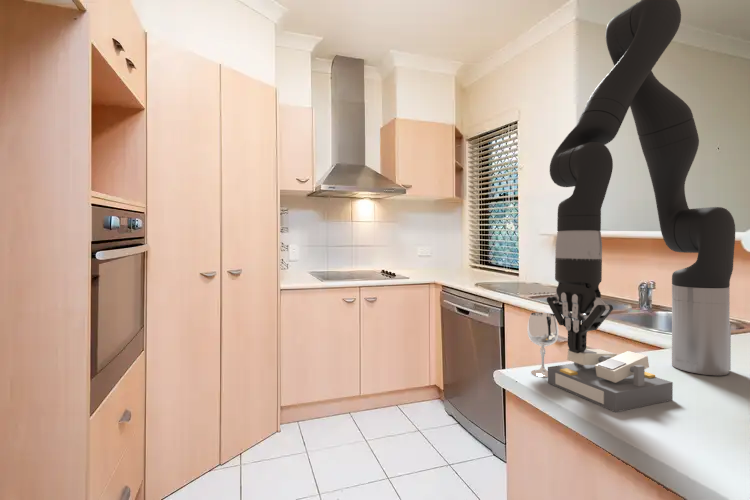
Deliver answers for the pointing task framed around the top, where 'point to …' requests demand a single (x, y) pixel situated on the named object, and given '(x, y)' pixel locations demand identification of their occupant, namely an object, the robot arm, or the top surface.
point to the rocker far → (620, 366)
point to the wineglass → (542, 335)
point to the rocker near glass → (588, 356)
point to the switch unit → (611, 386)
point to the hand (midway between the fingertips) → (576, 351)
